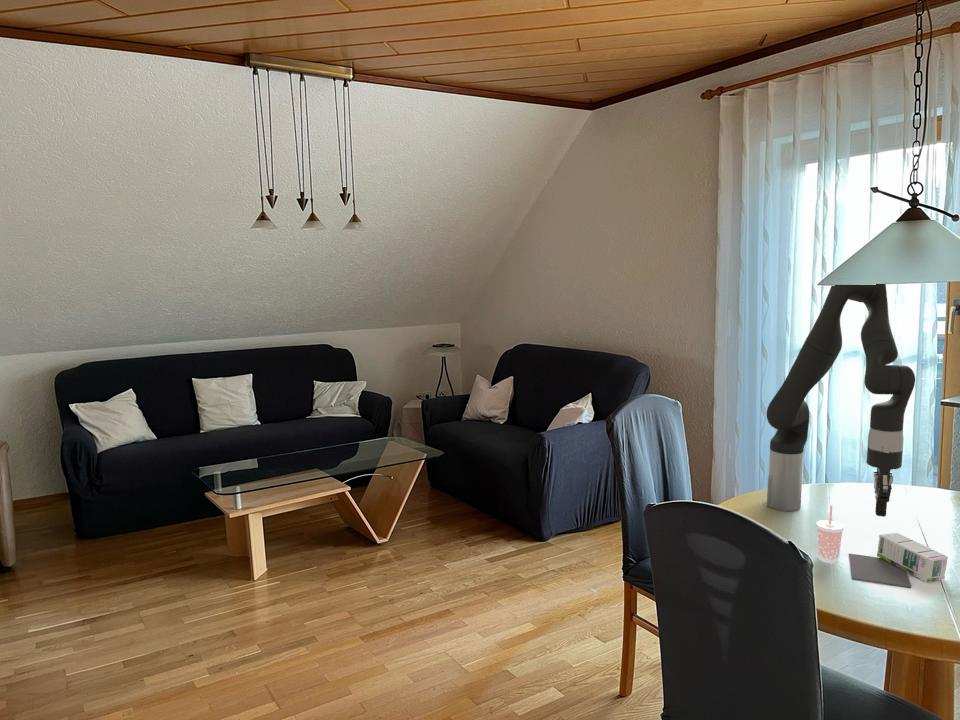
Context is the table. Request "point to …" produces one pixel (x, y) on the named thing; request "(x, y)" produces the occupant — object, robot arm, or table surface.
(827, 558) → the beverage cup
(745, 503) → the table surface
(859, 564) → the mat
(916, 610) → the table surface
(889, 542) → the syrup box
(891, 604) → the table surface
